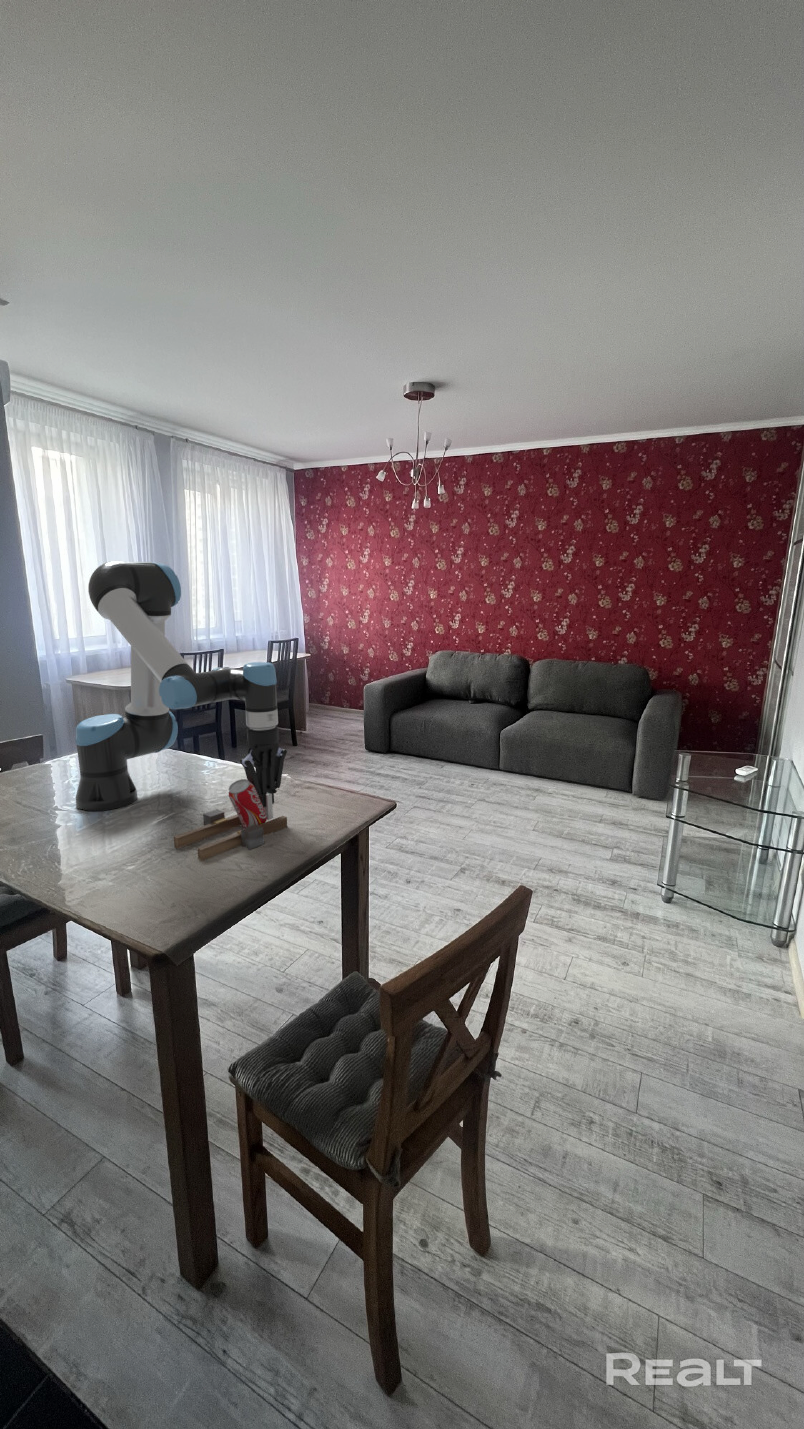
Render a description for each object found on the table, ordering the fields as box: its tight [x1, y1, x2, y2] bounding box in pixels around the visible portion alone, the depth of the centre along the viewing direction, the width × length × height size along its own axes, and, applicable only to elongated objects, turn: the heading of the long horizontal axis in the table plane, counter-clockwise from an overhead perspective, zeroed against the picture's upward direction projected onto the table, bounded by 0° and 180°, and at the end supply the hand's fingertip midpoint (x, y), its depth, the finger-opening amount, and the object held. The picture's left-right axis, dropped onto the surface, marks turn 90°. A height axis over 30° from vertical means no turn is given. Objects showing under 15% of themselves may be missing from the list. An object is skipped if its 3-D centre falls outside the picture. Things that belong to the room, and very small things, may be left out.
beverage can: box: [228, 778, 267, 829], centre depth 143 cm, size 6×6×12 cm
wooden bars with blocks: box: [173, 808, 288, 861], centre depth 141 cm, size 18×24×4 cm
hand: (267, 817), depth 149 cm, fingers closed
